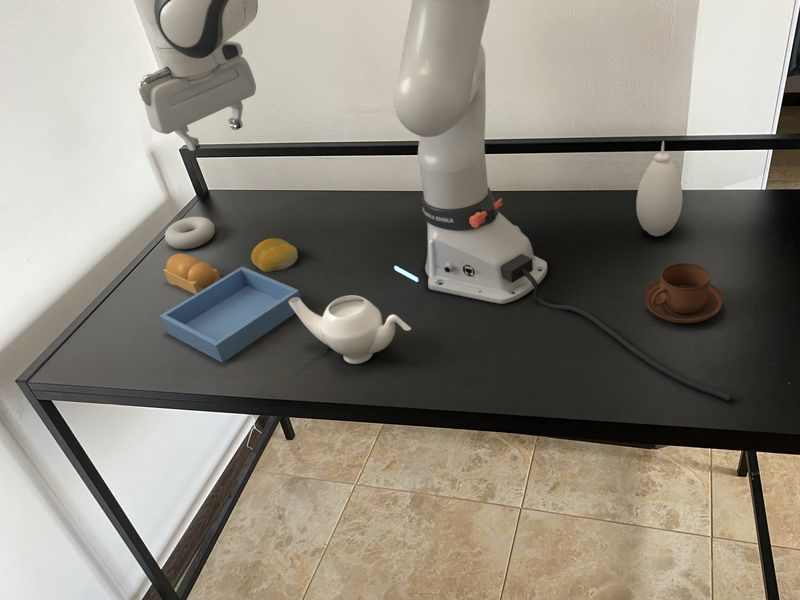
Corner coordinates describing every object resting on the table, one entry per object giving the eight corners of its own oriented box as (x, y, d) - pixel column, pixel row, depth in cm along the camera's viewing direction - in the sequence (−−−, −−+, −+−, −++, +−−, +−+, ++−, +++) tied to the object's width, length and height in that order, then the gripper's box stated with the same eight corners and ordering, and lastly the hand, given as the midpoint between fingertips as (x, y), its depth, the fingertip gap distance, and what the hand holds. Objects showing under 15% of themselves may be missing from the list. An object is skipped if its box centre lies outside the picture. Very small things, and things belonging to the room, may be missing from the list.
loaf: (224, 284, 139) (216, 260, 136) (201, 298, 136) (191, 274, 133) (189, 268, 145) (180, 245, 142) (166, 282, 142) (156, 258, 139)
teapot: (405, 381, 112) (395, 332, 106) (288, 364, 118) (273, 317, 112) (427, 342, 119) (419, 294, 113) (316, 328, 125) (303, 282, 119)
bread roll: (270, 279, 139) (264, 261, 136) (247, 262, 144) (241, 244, 142) (307, 261, 143) (302, 242, 140) (284, 245, 148) (279, 227, 146)
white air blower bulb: (687, 231, 137) (696, 138, 126) (661, 249, 133) (668, 154, 122) (652, 219, 142) (658, 127, 131) (626, 235, 138) (630, 143, 127)
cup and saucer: (696, 340, 113) (700, 306, 109) (629, 312, 120) (630, 280, 116) (736, 302, 119) (741, 269, 115) (669, 278, 126) (672, 247, 122)
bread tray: (304, 309, 130) (299, 290, 127) (223, 365, 120) (215, 345, 117) (248, 285, 138) (242, 266, 135) (167, 335, 128) (159, 315, 125)
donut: (159, 253, 151) (204, 252, 149) (153, 238, 149) (199, 237, 147) (181, 228, 159) (224, 227, 157) (176, 214, 157) (219, 212, 155)
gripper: (146, 81, 115) (178, 165, 124) (248, 41, 127) (271, 119, 136) (124, 77, 119) (156, 159, 127) (225, 38, 131) (249, 115, 139)
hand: (216, 138), depth 132 cm, fingers open, 8 cm apart
